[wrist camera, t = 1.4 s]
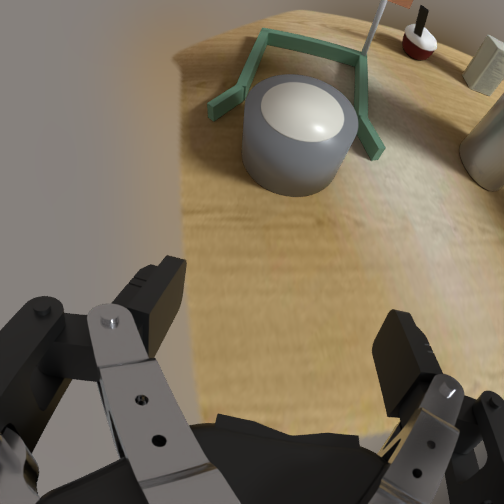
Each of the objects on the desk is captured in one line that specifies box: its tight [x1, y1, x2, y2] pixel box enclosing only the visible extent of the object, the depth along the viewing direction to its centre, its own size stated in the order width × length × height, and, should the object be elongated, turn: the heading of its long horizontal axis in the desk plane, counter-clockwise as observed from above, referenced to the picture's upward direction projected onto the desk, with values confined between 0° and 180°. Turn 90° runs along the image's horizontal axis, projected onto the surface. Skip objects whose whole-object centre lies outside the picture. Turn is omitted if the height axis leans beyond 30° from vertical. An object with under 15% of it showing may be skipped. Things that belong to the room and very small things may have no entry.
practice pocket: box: [207, 0, 413, 161], centre depth 32 cm, size 20×22×16 cm
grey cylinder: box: [242, 74, 358, 197], centre depth 32 cm, size 11×11×8 cm
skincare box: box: [462, 35, 504, 96], centre depth 40 cm, size 6×4×12 cm
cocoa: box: [402, 5, 437, 60], centre depth 40 cm, size 10×6×12 cm, turn 104°
